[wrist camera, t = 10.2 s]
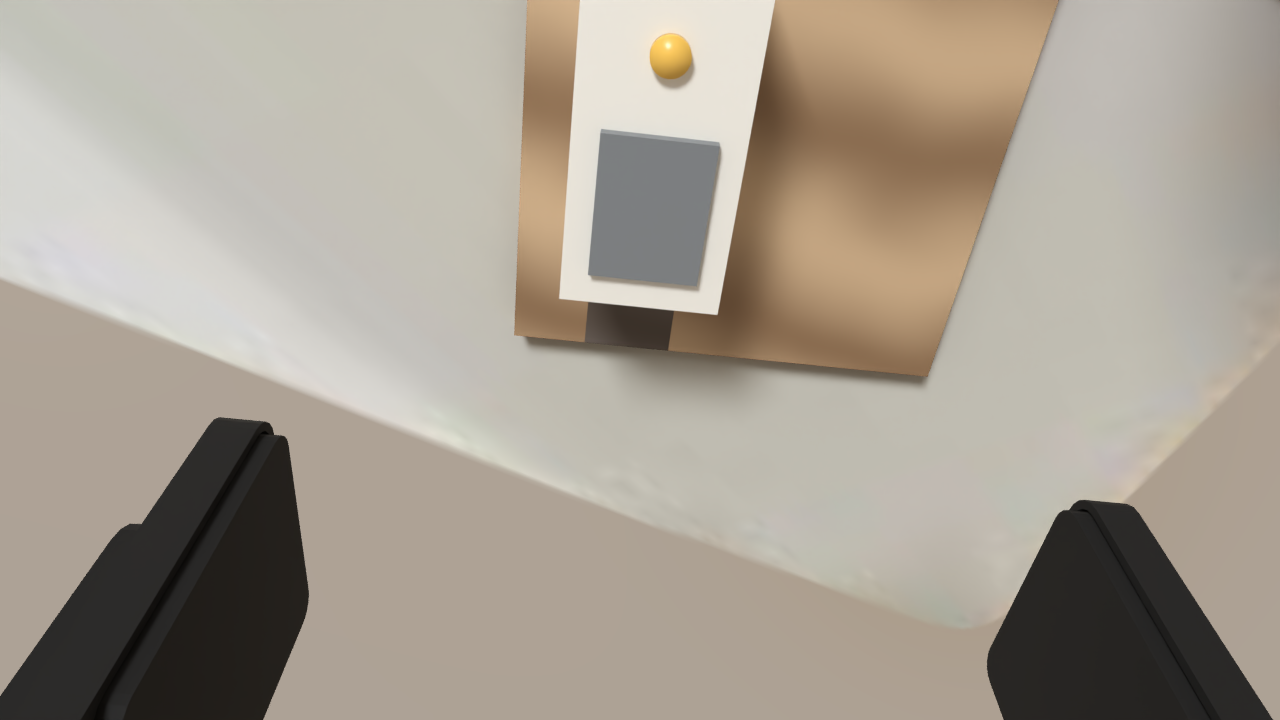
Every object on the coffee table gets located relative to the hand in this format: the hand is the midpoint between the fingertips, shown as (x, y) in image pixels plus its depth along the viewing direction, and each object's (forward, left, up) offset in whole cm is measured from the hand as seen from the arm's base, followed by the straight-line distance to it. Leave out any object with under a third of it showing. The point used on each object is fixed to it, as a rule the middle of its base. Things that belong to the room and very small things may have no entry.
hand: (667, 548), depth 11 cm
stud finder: (0, 0, -19) cm, 19 cm away
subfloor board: (0, +3, -20) cm, 20 cm away
